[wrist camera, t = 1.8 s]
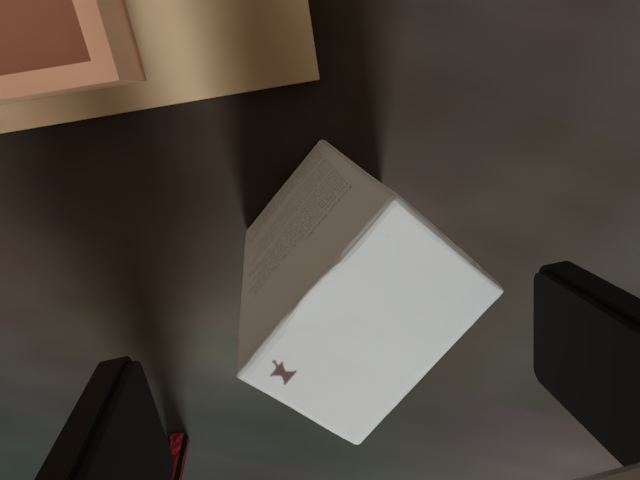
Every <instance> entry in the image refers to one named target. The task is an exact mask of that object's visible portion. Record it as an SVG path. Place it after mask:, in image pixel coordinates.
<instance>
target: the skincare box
mask: <svg viewBox="0 0 640 480" xmlns="http://www.w3.org/2000/svg"><path fill="white" fill-rule="evenodd" d="M502 293H503V288H502V286H501V285H500V284H499V283H498V282H497V281H496V280H495V279H494V278H493V277H492V276H490V275H489V274H488V273H487V272H486V271H485V270H484V269H483V268H482V267H480V266H479V265H478V264H477V263H476V262H475V261H474V260H473V259H472V258H470V257H469V256H468V255H467V254H466V253H465V252H464V251H463V250H461V249H460V248H459V247H458V246H457V245H456V244H455V243H453V242H452V241H451V240H450V239H449V238H448V237H447V236H446V235H444V234H443V233H442V232H441V231H440V230H439V229H438V228H437V227H436V226H434V225H433V224H432V223H431V222H430V221H429V220H428V219H426V218H425V217H424V216H423V215H422V214H421V213H419V212H418V211H417V210H416V209H415V208H414V207H412V206H411V205H410V204H409V203H408V202H406V201H405V200H404V199H403V198H402V197H400V196H399V195H398V194H397V193H395V192H394V191H392V190H391V189H389V188H388V187H386V186H385V185H384V184H382V183H381V182H379V181H378V180H377V179H375V178H374V177H372V176H371V175H370V174H368V173H367V172H366V171H364V170H363V169H362V168H360V167H359V166H358V165H356V164H355V163H354V162H352V161H351V160H350V159H349V158H347V157H346V156H345V155H344V154H342V153H341V152H340V151H338V150H337V149H336V148H334V147H333V146H332V145H331V144H329V143H328V142H327V141H325V140H319V142H318V143H317V144H316V145H315V146H314V148H313V149H312V150H311V151H310V153H309V154H308V155H307V156H306V158H305V159H304V160H303V161H302V163H301V164H300V165H299V166H298V167H297V169H296V170H295V171H294V172H293V174H292V175H291V176H290V178H289V179H288V180H287V181H286V182H285V184H284V185H283V186H282V187H281V189H280V190H279V191H278V192H277V194H276V195H275V196H274V197H273V198H272V200H271V201H270V202H269V203H268V205H267V206H266V207H265V208H264V210H263V211H262V212H261V213H260V215H259V216H258V217H257V218H256V220H255V221H254V222H253V223H252V225H251V226H250V227H249V228H248V230H247V231H246V239H245V251H244V268H243V281H242V296H241V311H240V323H239V335H238V351H237V367H236V375H237V377H238V378H239V379H241V380H242V381H244V382H246V383H248V384H250V385H252V386H254V387H255V388H257V389H259V390H261V391H263V392H264V393H266V394H268V395H270V396H272V397H273V398H275V399H277V400H279V401H280V402H282V403H284V404H286V405H287V406H289V407H291V408H293V409H294V410H296V411H298V412H299V413H301V414H303V415H304V416H306V417H308V418H309V419H311V420H313V421H315V422H316V423H318V424H320V425H321V426H323V427H325V428H326V429H328V430H330V431H331V432H333V433H335V434H337V435H339V436H340V437H342V438H344V439H346V440H348V441H350V442H352V443H353V444H355V445H358V444H360V443H361V442H362V441H363V440H364V439H365V438H366V437H367V436H368V435H369V434H370V432H371V431H372V430H373V429H374V428H375V427H376V426H377V425H378V424H379V423H380V422H381V421H382V420H383V418H384V417H385V416H386V415H387V414H388V413H389V412H390V411H391V410H392V409H393V408H394V407H395V406H396V405H397V404H398V403H399V402H400V401H401V400H402V399H403V397H404V396H405V395H406V394H407V393H408V392H409V391H410V390H411V389H412V388H413V387H414V386H415V385H416V384H417V383H418V382H419V381H420V380H421V378H422V377H423V376H424V375H425V374H426V373H427V372H428V371H429V370H430V369H431V368H432V367H433V366H434V365H435V364H436V363H437V361H438V360H439V359H440V358H441V357H442V356H443V355H444V354H445V353H446V352H447V351H448V350H449V349H450V348H451V347H452V345H453V344H454V343H455V342H456V341H457V340H458V339H459V338H460V337H461V336H462V335H463V334H464V333H465V332H466V331H467V330H468V329H469V328H470V327H471V326H472V325H473V323H474V322H475V321H476V320H477V319H478V318H479V317H480V316H481V315H482V314H483V313H484V312H485V311H486V310H487V309H488V308H489V307H490V306H491V305H492V304H493V303H494V302H495V301H496V300H497V299H498V298H499V297H500V296H501V295H502Z"/></svg>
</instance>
